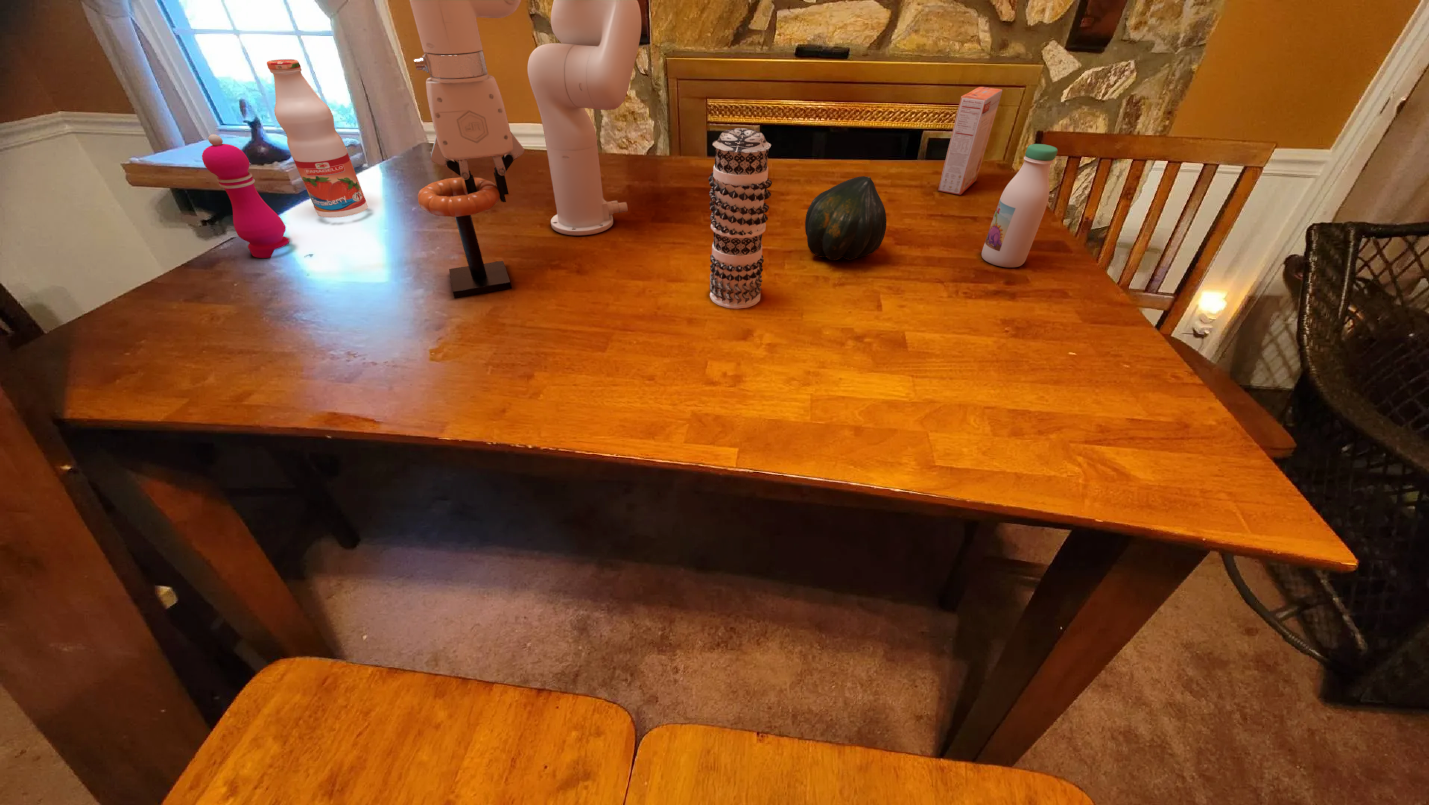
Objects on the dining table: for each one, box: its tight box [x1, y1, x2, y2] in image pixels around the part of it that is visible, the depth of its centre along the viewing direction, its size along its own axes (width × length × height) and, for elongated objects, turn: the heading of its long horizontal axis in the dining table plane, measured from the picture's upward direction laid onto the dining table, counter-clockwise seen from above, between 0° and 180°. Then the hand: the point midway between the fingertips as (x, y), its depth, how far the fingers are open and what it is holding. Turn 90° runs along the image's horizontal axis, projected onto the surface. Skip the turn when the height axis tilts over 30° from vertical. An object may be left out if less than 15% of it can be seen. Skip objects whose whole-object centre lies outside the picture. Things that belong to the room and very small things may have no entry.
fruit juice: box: [266, 58, 369, 219], centre depth 108 cm, size 9×9×28 cm
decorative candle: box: [708, 127, 773, 310], centre depth 84 cm, size 9×9×25 cm
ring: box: [417, 176, 500, 218], centre depth 85 cm, size 12×12×3 cm
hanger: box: [448, 215, 512, 299], centre depth 90 cm, size 9×9×13 cm
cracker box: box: [937, 86, 1003, 196], centre depth 131 cm, size 14×6×21 cm, turn 144°
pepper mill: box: [201, 133, 290, 259], centre depth 96 cm, size 7×7×20 cm
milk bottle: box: [980, 143, 1059, 268], centre depth 98 cm, size 8×8×20 cm
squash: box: [804, 175, 888, 261], centre depth 101 cm, size 14×15×15 cm
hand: (489, 199), depth 87 cm, fingers closed on ring, 3 cm apart
